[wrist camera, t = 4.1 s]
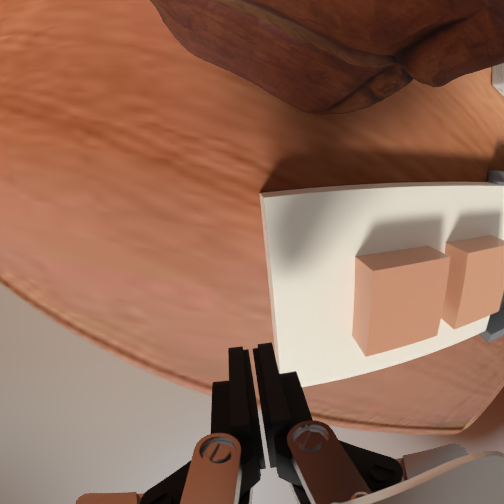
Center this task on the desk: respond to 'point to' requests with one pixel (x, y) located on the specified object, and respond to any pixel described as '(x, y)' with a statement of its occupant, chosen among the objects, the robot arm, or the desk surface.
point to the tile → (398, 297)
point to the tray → (500, 320)
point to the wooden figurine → (340, 44)
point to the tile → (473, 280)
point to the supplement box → (498, 77)
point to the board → (343, 263)
